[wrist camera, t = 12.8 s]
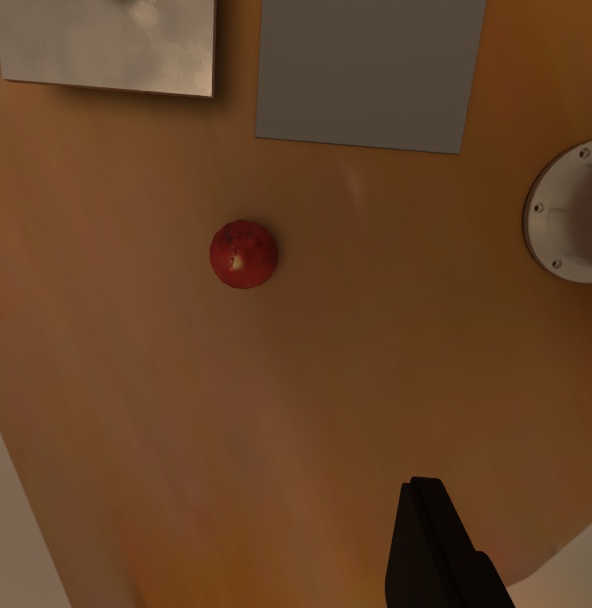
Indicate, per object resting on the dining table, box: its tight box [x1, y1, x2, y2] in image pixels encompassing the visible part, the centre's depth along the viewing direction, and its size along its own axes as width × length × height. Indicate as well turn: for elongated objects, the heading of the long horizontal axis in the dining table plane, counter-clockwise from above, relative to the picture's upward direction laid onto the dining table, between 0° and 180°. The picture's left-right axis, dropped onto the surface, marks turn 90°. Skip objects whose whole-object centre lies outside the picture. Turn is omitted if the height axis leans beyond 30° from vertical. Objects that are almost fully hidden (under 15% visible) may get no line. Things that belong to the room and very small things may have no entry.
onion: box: [210, 220, 278, 289], centre depth 34 cm, size 6×6×8 cm
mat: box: [255, 0, 486, 155], centre depth 32 cm, size 18×18×1 cm
